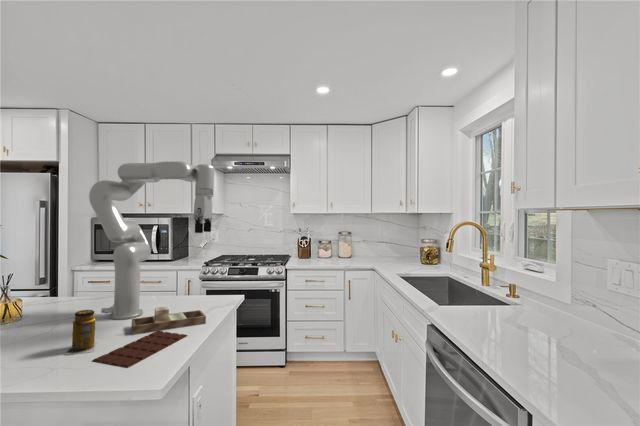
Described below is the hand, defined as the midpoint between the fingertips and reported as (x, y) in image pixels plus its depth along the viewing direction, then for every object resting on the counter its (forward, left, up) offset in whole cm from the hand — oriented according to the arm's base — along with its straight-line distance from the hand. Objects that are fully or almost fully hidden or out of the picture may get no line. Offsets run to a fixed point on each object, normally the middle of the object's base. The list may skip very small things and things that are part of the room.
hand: (203, 232), depth 142 cm
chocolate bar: (-24, -23, -38) cm, 50 cm away
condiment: (-41, -15, -38) cm, 57 cm away
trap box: (-13, -4, -37) cm, 40 cm away
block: (-16, -4, -34) cm, 38 cm away
